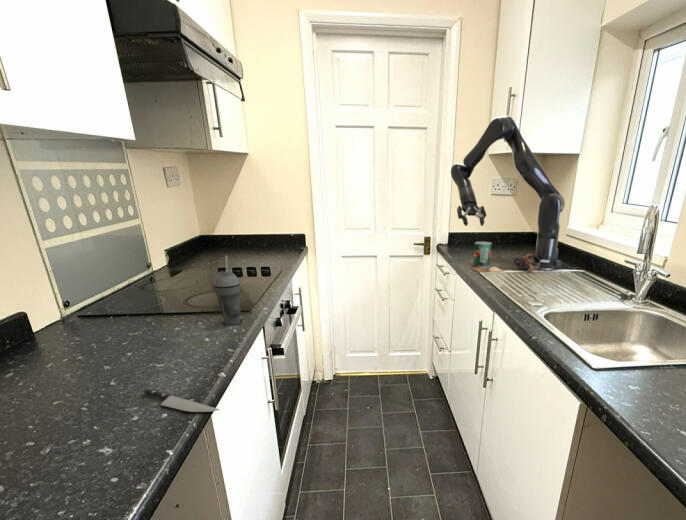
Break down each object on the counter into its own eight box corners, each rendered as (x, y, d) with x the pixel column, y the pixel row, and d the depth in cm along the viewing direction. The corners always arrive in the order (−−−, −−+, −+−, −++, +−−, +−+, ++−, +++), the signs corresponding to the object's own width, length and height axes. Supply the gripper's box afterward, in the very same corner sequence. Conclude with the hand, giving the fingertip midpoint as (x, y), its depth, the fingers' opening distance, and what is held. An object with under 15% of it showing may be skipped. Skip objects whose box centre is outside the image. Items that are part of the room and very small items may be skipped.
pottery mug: (533, 268, 196) (541, 254, 190) (535, 281, 190) (544, 267, 183) (509, 262, 195) (517, 248, 188) (510, 274, 188) (519, 260, 182)
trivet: (496, 267, 197) (496, 266, 197) (503, 271, 188) (503, 270, 188) (472, 267, 195) (472, 267, 195) (478, 272, 187) (478, 271, 187)
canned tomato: (493, 266, 198) (495, 243, 194) (480, 268, 194) (482, 244, 190) (482, 263, 204) (484, 241, 200) (470, 265, 200) (471, 242, 196)
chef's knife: (208, 419, 75) (220, 410, 77) (207, 414, 74) (219, 405, 77) (134, 399, 81) (148, 391, 84) (133, 394, 81) (146, 386, 83)
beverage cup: (220, 319, 126) (208, 254, 118) (245, 317, 128) (235, 252, 120) (219, 327, 119) (207, 258, 112) (245, 324, 122) (235, 257, 114)
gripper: (457, 192, 201) (464, 220, 196) (483, 193, 205) (490, 220, 200) (452, 202, 208) (458, 229, 203) (477, 202, 212) (484, 229, 207)
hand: (474, 224), depth 201 cm, fingers open, 8 cm apart
